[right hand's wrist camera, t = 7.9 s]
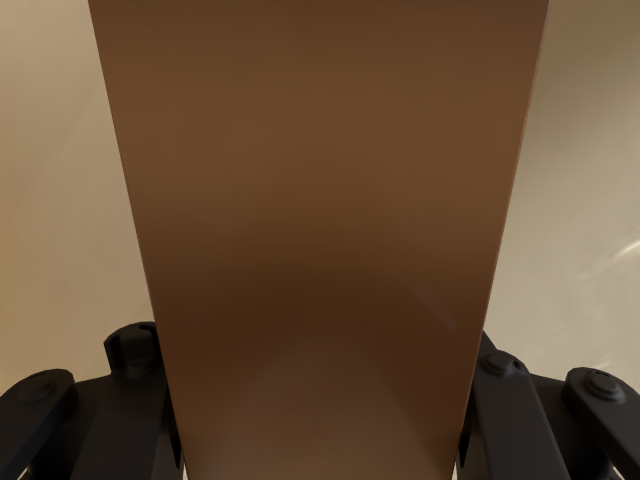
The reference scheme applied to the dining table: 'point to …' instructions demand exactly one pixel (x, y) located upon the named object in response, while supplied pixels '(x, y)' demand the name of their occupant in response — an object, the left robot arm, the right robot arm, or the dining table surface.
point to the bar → (319, 217)
